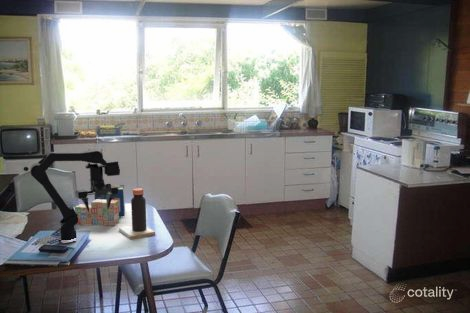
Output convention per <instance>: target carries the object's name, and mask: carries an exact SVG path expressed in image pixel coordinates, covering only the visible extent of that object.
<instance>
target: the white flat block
mask: <svg viewBox="0 0 470 313" xmlns="http://www.w3.org/2000/svg"><path fill="white" fill-rule="evenodd" d="M118 231H119V232H121V234H123V235H125V237H127V238H128V239H130V240H136V239H141V238H145V237H151V235H152V236H156V231H155V230H153V229H151V228H150V227H149V226H147V225H146V230H145V231H141V232H135V231H133V230H132V224H131V225H127V226H121V227H118Z"/></svg>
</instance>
